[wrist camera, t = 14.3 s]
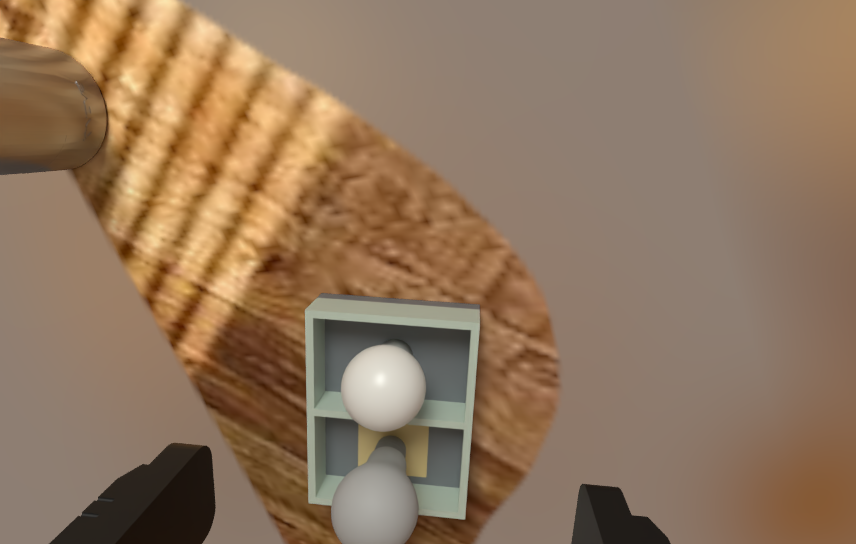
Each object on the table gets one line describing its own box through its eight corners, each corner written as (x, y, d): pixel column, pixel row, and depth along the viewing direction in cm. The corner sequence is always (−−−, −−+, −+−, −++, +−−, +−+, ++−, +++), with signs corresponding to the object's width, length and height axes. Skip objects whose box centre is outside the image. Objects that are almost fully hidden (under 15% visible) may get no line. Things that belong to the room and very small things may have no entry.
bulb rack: (323, 471, 47) (284, 556, 37) (321, 293, 42) (276, 338, 33) (466, 485, 46) (463, 576, 36) (479, 304, 41) (480, 354, 32)
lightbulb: (370, 479, 45) (337, 586, 34) (348, 419, 44) (307, 510, 33) (436, 466, 44) (424, 572, 33) (416, 404, 43) (397, 493, 32)
